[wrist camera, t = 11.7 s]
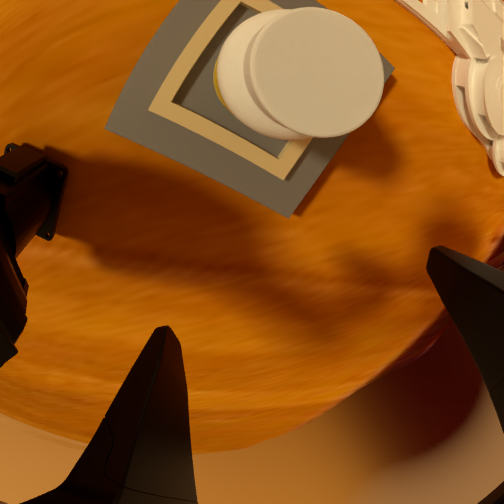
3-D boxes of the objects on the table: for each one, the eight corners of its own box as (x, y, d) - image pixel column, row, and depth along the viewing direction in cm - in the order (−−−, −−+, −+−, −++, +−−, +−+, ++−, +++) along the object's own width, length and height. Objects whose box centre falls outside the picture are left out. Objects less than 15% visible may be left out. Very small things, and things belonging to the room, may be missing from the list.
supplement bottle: (219, 125, 15) (232, 172, 7) (207, 42, 12) (207, -16, 4) (305, 116, 15) (402, 157, 7) (298, 37, 12) (395, 0, 4)
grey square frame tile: (283, 209, 21) (290, 222, 19) (111, 125, 15) (101, 130, 13) (383, 68, 15) (399, 68, 13) (222, -39, 9) (224, -52, 8)
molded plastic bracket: (513, 15, 9) (537, 19, 5) (498, 173, 22) (522, 188, 18) (380, -90, 4) (404, -104, 1) (364, 116, 18) (399, 126, 14)
